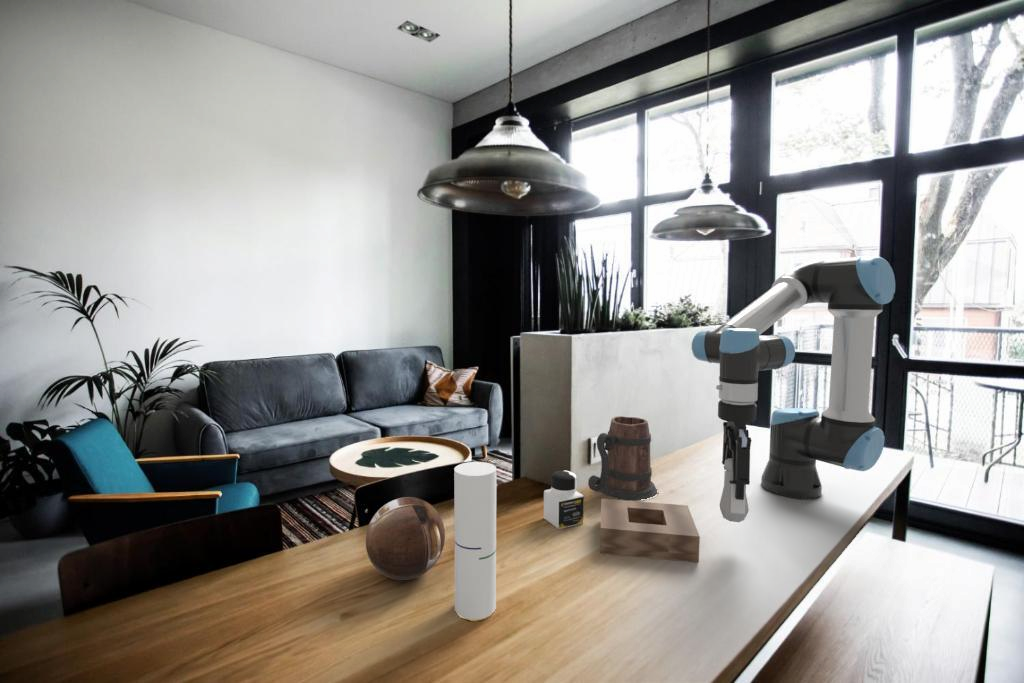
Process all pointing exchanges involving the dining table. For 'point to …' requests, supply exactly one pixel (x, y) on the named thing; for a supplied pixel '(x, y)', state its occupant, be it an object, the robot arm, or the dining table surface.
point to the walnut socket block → (648, 530)
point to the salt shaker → (726, 497)
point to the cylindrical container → (475, 539)
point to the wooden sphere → (405, 538)
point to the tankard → (625, 460)
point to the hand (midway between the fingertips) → (733, 506)
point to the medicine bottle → (563, 501)
